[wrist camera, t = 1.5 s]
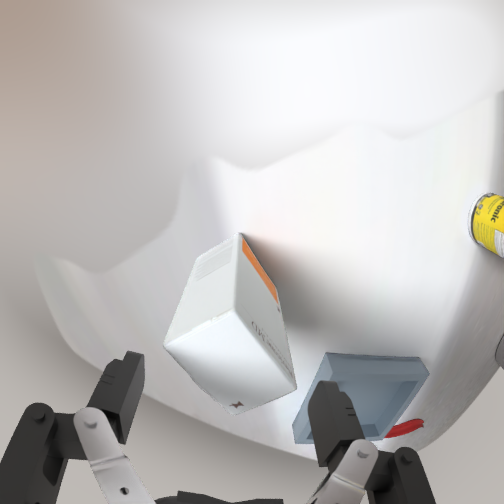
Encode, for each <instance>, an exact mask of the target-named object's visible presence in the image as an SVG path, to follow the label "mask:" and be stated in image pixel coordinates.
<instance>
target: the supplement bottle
mask: <svg viewBox="0 0 504 504" xmlns="http://www.w3.org/2000/svg"><path fill="white" fill-rule="evenodd" d="M468 228H469V233H470V235H471V237H472V239H473V240H474V241H475V242H477V243H478V244H480V245H481V246H483V247H485V248H487V249H488V250H490V251H492V252H494V253H495V254H497V255H499V256H500V257H502V258H504V197H502V196H499V195H496V194H493V193H483V194H481V195H480V196H478V197H477V198H476V199H475V201H474V202H473V204H472V206H471V208H470V211H469V216H468Z"/></svg>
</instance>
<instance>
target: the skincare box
mask: <svg viewBox="0 0 504 504" xmlns="http://www.w3.org/2000/svg"><path fill="white" fill-rule="evenodd" d="M163 347H164V348H165V349H166V351H167V352H168V353H169V354H170V355H171V356H172V357H173V358H174V359H175V360H176V361H177V363H178V364H179V365H180V366H181V367H182V368H183V369H184V370H185V371H186V372H187V373H188V374H189V376H190V377H191V378H192V380H193V381H194V382H195V383H196V384H197V385H198V386H199V387H200V388H201V389H202V390H203V391H204V392H206V393H207V394H209V395H210V396H211V397H212V398H213V399H214V400H215V401H216V402H217V403H218V404H219V405H220V406H221V407H223V408H224V409H225V410H226V411H227V412H228V413H229V414H230V415H232V416H234V415H237V414H240V413H242V412H245V411H248V410H250V409H253V408H255V407H258V406H261V405H263V404H266V403H268V402H271V401H273V400H275V399H278V398H280V397H282V396H285V395H287V394H289V393H291V392H293V391H295V390H296V389H297V385H296V380H295V374H294V369H293V364H292V359H291V354H290V350H289V345H288V340H287V335H286V330H285V325H284V320H283V316H282V311H281V307H280V301H279V296H278V292H277V288H276V286H275V285H274V284H273V282H272V281H271V279H270V278H269V276H268V275H267V273H266V272H265V270H264V269H263V268H262V266H261V265H260V263H259V262H258V260H257V258H256V257H255V255H254V254H253V252H252V250H251V249H250V247H249V246H248V244H247V242H246V241H245V239H244V237H243V236H242V234H241V233H237V234H235V235H234V236H232V237H230V238H229V239H227V240H225V241H224V242H222V243H220V244H218V245H217V246H215V247H213V248H212V249H210V250H208V251H207V252H205V253H203V254H202V255H200V256H198V258H197V259H196V262H195V264H194V267H193V269H192V272H191V274H190V277H189V279H188V282H187V284H186V287H185V289H184V292H183V294H182V297H181V300H180V302H179V305H178V307H177V310H176V312H175V315H174V317H173V320H172V323H171V325H170V328H169V330H168V333H167V335H166V338H165V340H164V343H163Z"/></svg>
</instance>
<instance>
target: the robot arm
mask: <svg viewBox="0 0 504 504" xmlns="http://www.w3.org/2000/svg"><path fill="white" fill-rule="evenodd" d="M496 361H497V362H498V364H499V365H500V366H501V367H502V368H503V369H504V336H503V338H502V339H501V342H500V344H499V346H498V349H497V352H496ZM144 381H145V369H144V354H140V353H136V352H132V351H127V353H126V355H125V357H124V359H123V361H122V360H118V359H114V360H113V361H112V362H110V363H109V364H108V365H107V366H106V368H105V370H104V372H103V375H102V376H101V378H100V381H99V382H98V384H97V386H96V388H95V390H94V392H93V395H92V396H91V399H90V401H89V403H88V405H87V406H86V407H85V408H82V409H80V410H79V411H78V412H76V413H74V414H64V413H54V412H53V410H52V408H51V407H49V406H48V405H46V404H44V403H33V404H31V405H29V406H28V407H27V408H26V410H25V412H24V413H23V415H22V417H21V419H20V421H19V423H18V426H17V427H16V429H15V432H14V434H13V436H12V438H11V440H10V442H9V445H8V447H7V449H6V451H5V453H4V456H3V458H2V460H1V463H0V504H56V500H57V496H58V493H59V489H60V486H61V482H62V479H63V476H64V472H65V469H66V466H67V462H68V459H79V460H88V461H89V464H90V466H91V468H92V471H93V473H94V475H95V478H96V480H97V482H98V484H99V486H100V488H101V490H102V492H103V494H104V496H105V498H106V500H107V502H108V504H283V499H254V500H248V501H242V502H235V503H230V502H226V501H223V500H220V499H216V498H213V497H210V496H207V495H204V494H196V493H190V492H183V491H178V494H177V496H169V497H164V498H159V499H157V500H153V498H152V497H151V495H150V493H149V492H148V491H147V489H146V487H145V486H144V484H143V482H142V481H141V479H140V477H139V476H138V474H137V472H136V470H135V469H134V467H133V465H132V464H131V462H130V460H129V458H128V457H127V456H125V454H124V453H123V451H122V449H121V447H120V445H119V443H120V444H126V441H127V437H128V434H129V431H130V428H131V425H132V421H133V418H134V415H135V412H136V409H137V406H138V403H139V400H140V397H141V394H142V391H143V387H144ZM307 411H308V417H309V421H310V426H311V431H312V435H313V440H314V445H315V449H316V454H317V459H318V463H319V467H328V470H329V471H328V473H327V474H326V475H325V477H324V478H323V480H322V481H321V483H320V484H319V486H318V487H317V489H316V491H315V492H314V493H313V495H312V496H311V498H310V499H309V500H308V502H307V503H306V504H360V502H361V500H362V498H363V496H364V494H365V490H366V491H367V495H368V500H369V504H436V502H435V499H434V496H433V494H432V491H431V488H430V485H429V482H428V480H427V477H426V474H425V471H424V468H423V466H422V463H421V461H420V458H419V456H418V454H417V452H416V451H414V450H413V449H411V448H409V447H401V448H399V449H397V450H396V451H395V453H391V452H385V451H380V450H378V449H377V447H376V446H375V445H374V444H373V443H372V442H370V441H368V440H366V439H365V436H364V434H363V431H362V428H361V425H360V422H359V420H358V417H357V416H356V412H355V409H354V406H353V403H352V401H351V399H350V398H349V396H348V395H347V394H346V393H345V392H340V390H339V387H338V385H337V382H336V381H325V380H320V381H319V382H318V384H317V386H316V388H315V390H314V392H313V394H312V396H311V398H310V400H309V402H308V409H307Z"/></svg>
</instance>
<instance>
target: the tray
mask: <svg viewBox="0 0 504 504" xmlns="http://www.w3.org/2000/svg"><path fill="white" fill-rule="evenodd" d="M429 374H430V373H429V372H428V370H427V369H426V367H425V366H424V364H423V363H422V361H421V360H420V359H419V357H387V356H366V355H350V354H336V353H326V354H325V356H324V358H323V361H322V363H321V365H320V367H319V370H318V372H317V374H316V376H315V379H314V381H313V383H312V385H311V387H310V390H309V392H308V394H307V396H306V398H305V400H304V402H303V404H302V406H301V408H300V410H299V412H298V415H297V417H296V419H295V420H294V422H293V424H292V426H293V433H294V440H295V444H314V440H313V435H312V431H311V426H310V421H309V417H308V411H307V409H308V402H309V400H310V398H311V396H312V394H313V392H314V390H315V388H316V386H317V384H318V382H319V381H320V380H325V381H336V382H337V385H338V387H339V390H340V392H345V393H346V394H347V395H348V396H349V398H350V399H351V401H352V403H353V406H354V409H355V412H356V416H357V417H358V420H359V422H360V425H361V428H362V431H363V434H364V436H365V439H366V440H368V441H377V440H383V438H384V437H385V436H386V435H387V433H388V432H389V431H390V430H391V428H392V427H393V426H394V425H395V423H396V422H397V421H398V419H399V418H400V417H401V415H402V414H403V412H404V411H405V410H406V408H407V407H408V406H409V404H410V403H411V401H412V400H413V398H414V397H415V395H416V394H417V392H418V391H419V389H420V388H421V386H422V385H423V383H424V382H425V380H426V379H427V377H428V375H429Z"/></svg>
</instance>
